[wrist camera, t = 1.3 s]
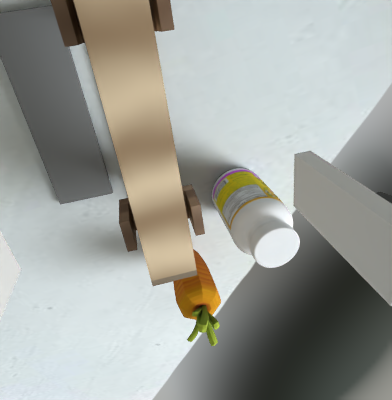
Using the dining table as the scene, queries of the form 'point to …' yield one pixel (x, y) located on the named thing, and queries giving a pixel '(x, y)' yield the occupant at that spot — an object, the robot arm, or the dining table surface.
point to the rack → (74, 36)
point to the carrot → (199, 300)
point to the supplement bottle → (255, 217)
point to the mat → (53, 102)
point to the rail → (140, 129)
